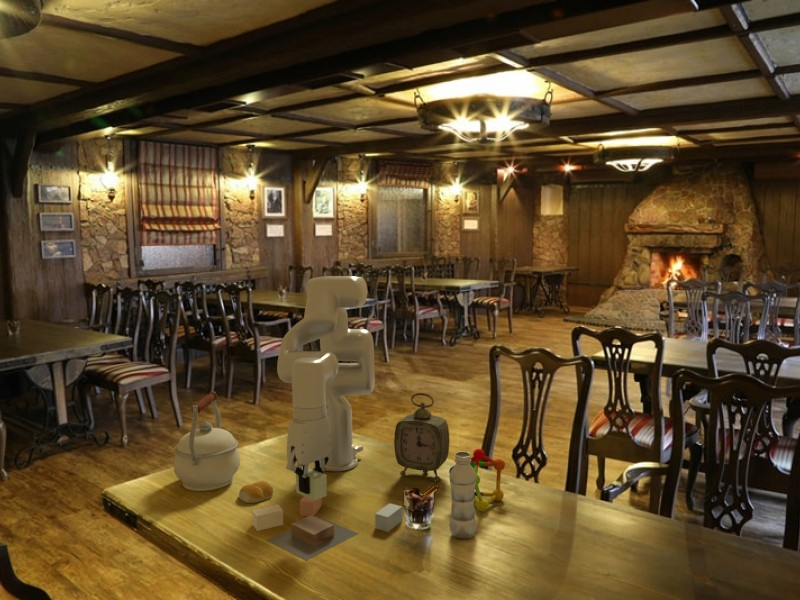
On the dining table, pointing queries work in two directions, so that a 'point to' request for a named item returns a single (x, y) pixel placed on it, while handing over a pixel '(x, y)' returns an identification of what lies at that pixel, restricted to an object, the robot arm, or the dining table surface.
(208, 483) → the kettle
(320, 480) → the brick sage
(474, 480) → the plastic bottle
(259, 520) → the brick cream
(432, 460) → the tabletop clock
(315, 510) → the brick terracotta
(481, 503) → the educational toy
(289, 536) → the slate board
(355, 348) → the robot arm
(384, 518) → the grey block
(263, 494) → the bread roll
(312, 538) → the brick walnut
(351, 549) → the dining table surface
